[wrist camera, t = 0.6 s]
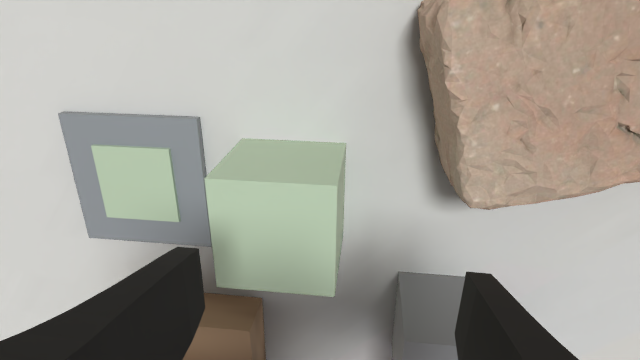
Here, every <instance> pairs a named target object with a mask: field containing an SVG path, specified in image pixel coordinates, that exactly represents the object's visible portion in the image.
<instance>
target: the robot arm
mask: <svg viewBox="0 0 640 360" xmlns="http://www.w3.org/2000/svg"><path fill="white" fill-rule="evenodd" d="M204 310H205V300H204V291H203V282H202V273H201V265H200V256H199V249H196V248H185V247H177V248H175V249H173V250H171V251H169V252H167V253H166V254H164V255H162V256H161V257H159V258H157V259H156V260H154V261H153V262H151V263H149V264H148V265H146V266H144V267H143V268H141V269H140V270H138V271H136V272H135V273H133V274H131V275H130V276H128V277H126V278H125V279H123V280H122V281H120V282H118V283H117V284H115V285H113V286H112V287H110V288H108V289H106V290H104V291H103V292H101V293H99V294H97V295H96V296H94V297H92V298H90V299H88V300H87V301H85V302H83V303H81V304H79V305H78V306H76V307H74V308H72V309H70V310H68V311H66V312H64V313H62V314H60V315H58V316H56V317H54V318H52V319H50V320H48V321H46V322H44V323H42V324H39V325H37V326H35V327H33V328H31V329H29V330H26V331H24V332H22V333H19V334H17V335H15V336H12V337H10V338H7V339H5V340H2V341H0V360H183V358H184V356H185V354H186V352H187V350H188V348H189V347H190V345H191V343H192V341H193V338H194V336H195V334H196V331H197V329H198V326H199V324H200V321H201V318H202V315H203V313H204ZM455 341H456V348H457V356H458V360H578V359H577V358H576V357H575V356H574V355H573V354H572V353H571V352H569V351H568V350H567V349H566V348H565V347H564V346H563V345H562V344H560V343H559V342H558V341H557V340H556V339H555V338H554V337H553V336H552V335H551V334H550V333H549V332H548V331H547V330H546V329H545V328H543V327H542V326H541V325H540V324H539V323H538V322H537V321H536V320H535V319H534V318H533V317H532V316H531V315H530V314H529V313H528V312H527V311H526V310H525V309H524V308H523V307H522V306H521V305H520V303H519V302H518V301H517V300H516V299H515V298H514V297H513V296H512V295H511V294H510V293H509V292H508V291H507V290H506V289H505V288H504V287H503V286H502V285H501V284H500V283H499V282H498V281H497V280H496V279H495V278H494V277H493V276H492V275H491V274H486V273H475V272H466V276H465V281H464V286H463V291H462V297H461V302H460V307H459V312H458V317H457V322H456V328H455Z"/></svg>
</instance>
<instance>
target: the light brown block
mask: <svg viewBox="0 0 640 360" xmlns="http://www.w3.org/2000/svg"><path fill="white" fill-rule="evenodd" d="M204 300H205V310H204V313H203V315H202V318H201V321H200V324H199V326H198V329H197V331H196V334H195V336H194V338H193V341H192V343H191V345H190V347H189V348H188V350H187V352H186V354H185V356H184V358H183V360H266V352H265V336H264V319H263V302H262V298H258V297H246V296H235V295H223V294H212V293H204Z"/></svg>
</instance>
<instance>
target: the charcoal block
mask: <svg viewBox="0 0 640 360" xmlns="http://www.w3.org/2000/svg"><path fill="white" fill-rule="evenodd" d="M496 280H497V279H496ZM464 281H465V277H460V276H447V275H434V274H421V273H409V272H399V274H398V284H397V294H396V304H395V314H394V325H393V335H392V360H458V356H457V348H456V341H455V328H456V322H457V317H458V312H459V307H460V302H461V297H462V291H463V286H464ZM497 281H498V280H497Z"/></svg>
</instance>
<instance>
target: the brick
mask: <svg viewBox="0 0 640 360" xmlns="http://www.w3.org/2000/svg"><path fill="white" fill-rule="evenodd" d="M418 18H419V29H420V37H421V38H420V39H419V42H420V50H421V52H422V54H423V56H424V58H425V64H426V67H427V71H428V78H429V87H430V91H431V92H432V98H433V105H434V111H433V113H434V119H435V123H436V124H435V143H436V146H437V148H438V152H439V157H440V162H441V165H442V167H443V169H444V172H445V173H446V175H447V177H448V179H449V181H450V183H451V186H453V187H454V189H455V191H456V193H457V194H458V196H459V197H460V198H461V200H462V201H463V202H465V203H466V204H467V205H468V206H469V207H470V208H480V209H488V210H490V209H496V208H502V207H508V206H515V205H525V204H534V203H540V202H546V201H551V200H560V199H566V198H572V197H578V196H582V195H587V194H591V193H596V192H600V191H603V190H605V189H608V188H611V187H614V186H617V185H620V184H623V183H633V182H640V0H424V1H422V2H421V6H420V8H419V9H418Z"/></svg>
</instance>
